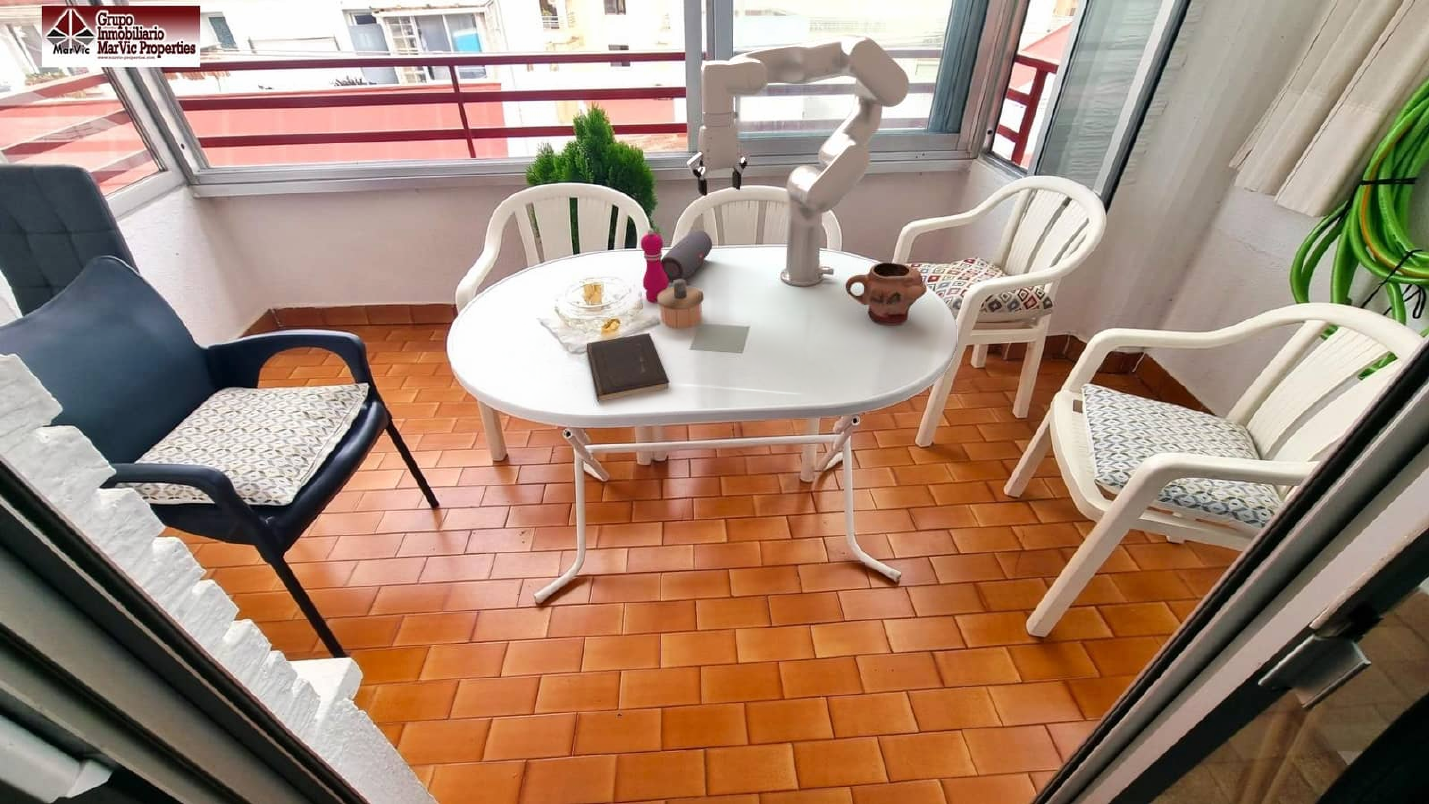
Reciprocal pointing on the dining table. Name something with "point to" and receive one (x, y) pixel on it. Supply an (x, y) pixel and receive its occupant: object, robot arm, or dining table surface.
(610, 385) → the hardcover book
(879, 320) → the terracotta clay mug
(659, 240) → the pepper mill
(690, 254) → the bluetooth speaker
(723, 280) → the dining table surface
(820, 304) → the dining table surface
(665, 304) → the lid
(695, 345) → the mat
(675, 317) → the bowl
